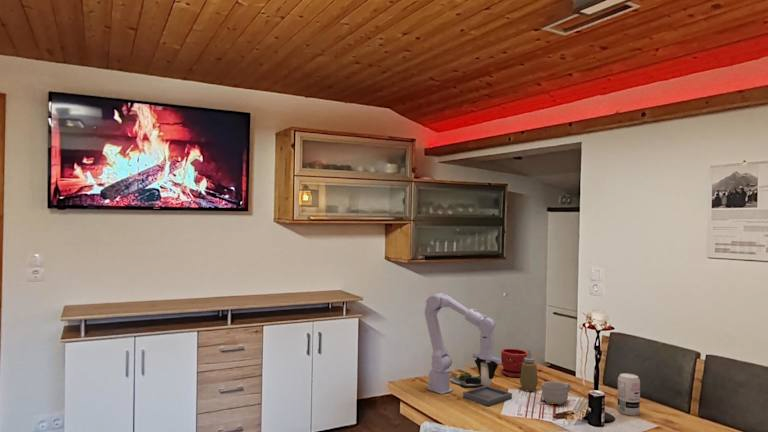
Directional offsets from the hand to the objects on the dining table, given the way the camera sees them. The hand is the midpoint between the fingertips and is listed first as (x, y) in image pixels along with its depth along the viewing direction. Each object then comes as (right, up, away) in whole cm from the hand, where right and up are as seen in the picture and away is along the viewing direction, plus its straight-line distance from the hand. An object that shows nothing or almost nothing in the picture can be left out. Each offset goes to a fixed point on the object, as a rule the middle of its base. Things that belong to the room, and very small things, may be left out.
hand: (486, 377), depth 233 cm
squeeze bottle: (+22, -10, +14) cm, 28 cm away
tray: (+1, -9, +1) cm, 9 cm away
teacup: (+30, -10, -3) cm, 32 cm away
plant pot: (+21, -10, +38) cm, 45 cm away
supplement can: (+55, -10, -15) cm, 58 cm away
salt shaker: (0, -3, 0) cm, 3 cm away
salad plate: (-3, -10, +24) cm, 26 cm away
